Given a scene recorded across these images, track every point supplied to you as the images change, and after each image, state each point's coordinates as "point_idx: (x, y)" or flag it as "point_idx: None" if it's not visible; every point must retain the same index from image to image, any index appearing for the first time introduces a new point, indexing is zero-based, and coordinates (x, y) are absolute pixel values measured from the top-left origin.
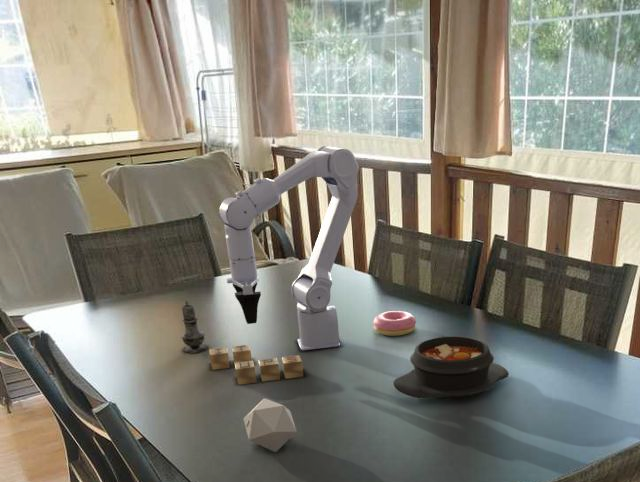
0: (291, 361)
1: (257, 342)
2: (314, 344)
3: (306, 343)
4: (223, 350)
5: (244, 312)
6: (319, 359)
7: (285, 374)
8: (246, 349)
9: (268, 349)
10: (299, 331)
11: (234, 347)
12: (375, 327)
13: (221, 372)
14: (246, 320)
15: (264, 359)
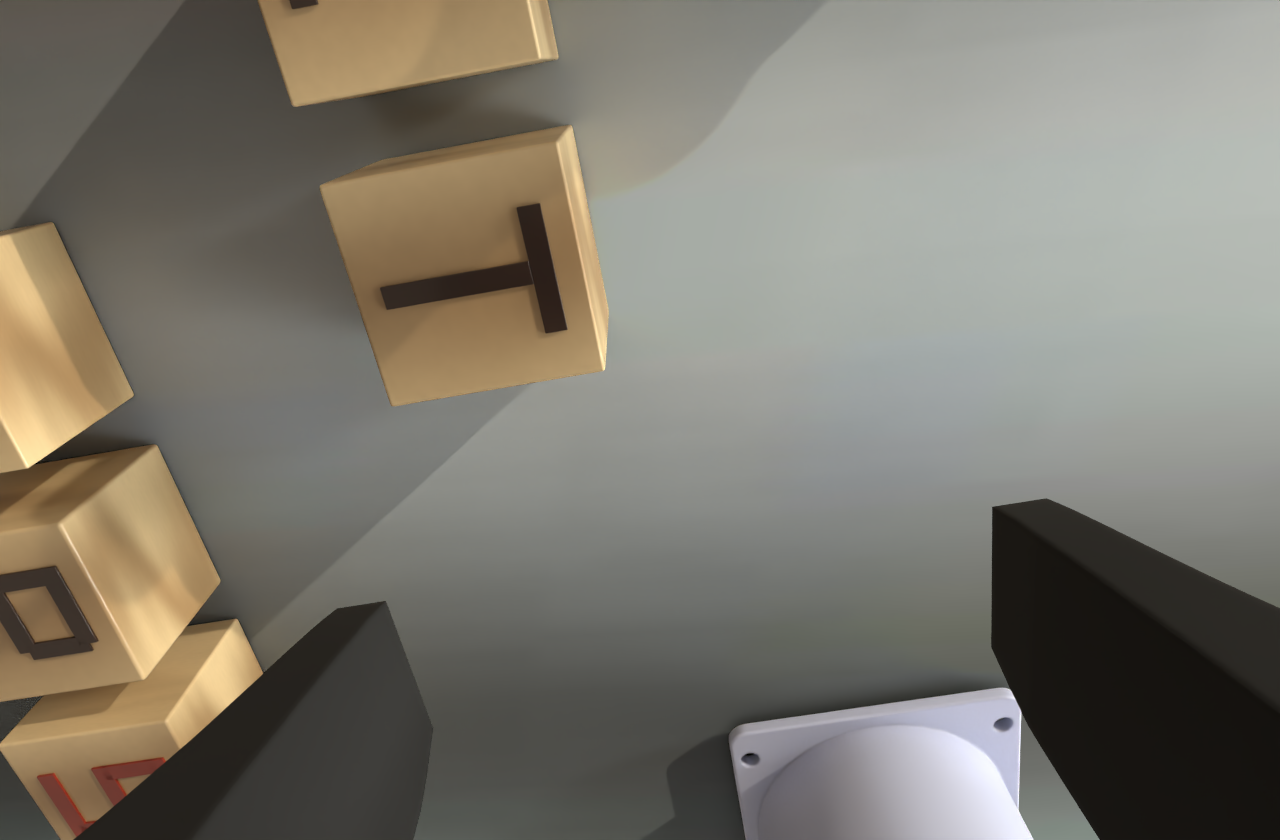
0: (50, 800)
1: (1138, 330)
2: (762, 836)
3: (790, 791)
4: (396, 25)
5: (150, 796)
6: (523, 829)
7: None
8: (417, 357)
9: (869, 457)
10: (928, 816)
11: (512, 185)
12: None
13: (216, 3)
14: (292, 651)
15: (76, 581)
